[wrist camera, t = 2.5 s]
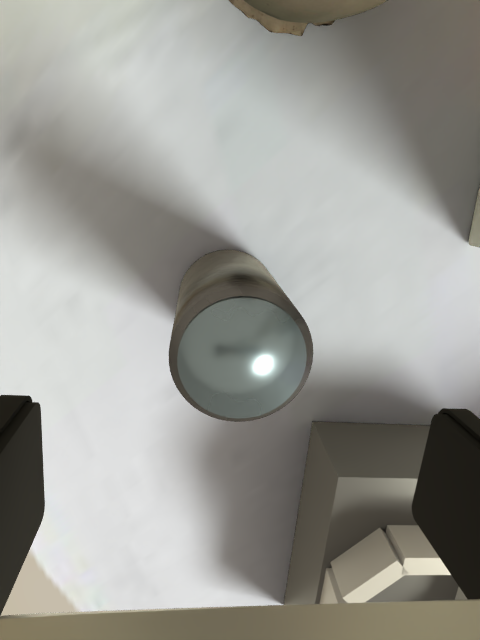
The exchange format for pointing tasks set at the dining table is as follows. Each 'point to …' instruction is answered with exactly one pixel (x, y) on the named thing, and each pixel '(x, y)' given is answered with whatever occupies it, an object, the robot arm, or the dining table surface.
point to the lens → (237, 339)
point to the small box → (475, 225)
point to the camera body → (363, 520)
